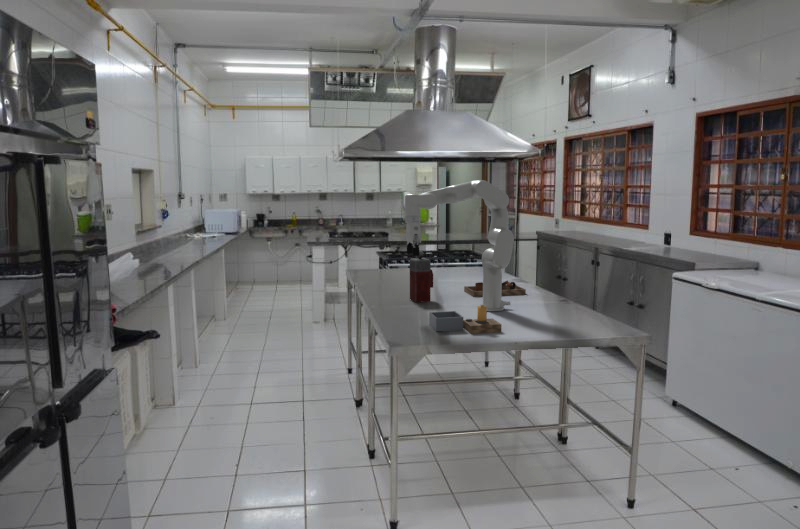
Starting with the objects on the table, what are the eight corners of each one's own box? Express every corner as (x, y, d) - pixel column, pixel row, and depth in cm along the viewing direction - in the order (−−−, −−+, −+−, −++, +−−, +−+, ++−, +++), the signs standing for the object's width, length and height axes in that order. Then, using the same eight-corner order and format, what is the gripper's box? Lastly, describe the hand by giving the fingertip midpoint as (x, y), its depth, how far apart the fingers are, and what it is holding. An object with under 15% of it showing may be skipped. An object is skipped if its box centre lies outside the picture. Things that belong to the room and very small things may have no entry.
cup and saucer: (490, 291, 340) (490, 281, 340) (493, 295, 329) (493, 285, 328) (470, 291, 341) (470, 281, 340) (472, 295, 329) (472, 285, 328)
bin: (455, 323, 262) (455, 311, 261) (463, 330, 250) (463, 317, 249) (429, 325, 259) (429, 312, 259) (436, 331, 247) (436, 318, 247)
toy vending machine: (434, 301, 313) (434, 250, 310) (415, 302, 309) (415, 251, 306) (427, 298, 322) (427, 249, 318) (409, 299, 318) (409, 250, 314)
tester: (492, 326, 257) (492, 317, 257) (501, 332, 247) (501, 322, 246) (462, 327, 255) (463, 318, 254) (470, 333, 244) (470, 324, 243)
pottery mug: (508, 295, 330) (501, 283, 331) (498, 300, 338) (492, 288, 339) (522, 288, 336) (515, 276, 337) (512, 293, 344) (506, 280, 345)
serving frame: (514, 289, 347) (514, 284, 347) (525, 294, 331) (525, 289, 330) (464, 291, 341) (464, 286, 341) (473, 296, 325) (473, 291, 324)
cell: (484, 325, 253) (485, 303, 251) (487, 327, 249) (488, 305, 247) (476, 325, 252) (476, 304, 251) (479, 327, 248) (479, 305, 247)
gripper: (425, 220, 266) (425, 256, 269) (414, 218, 283) (414, 252, 285) (410, 220, 264) (410, 257, 267) (400, 218, 281) (400, 253, 283)
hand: (413, 254), depth 276 cm, fingers open, 9 cm apart
